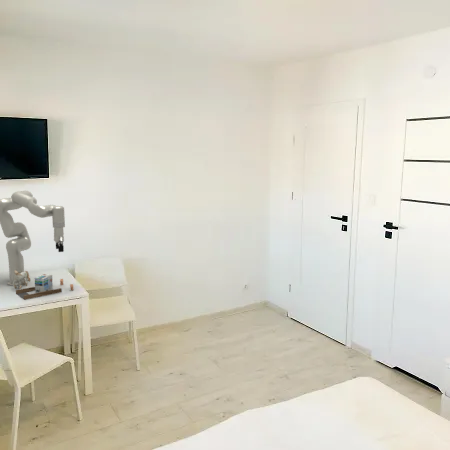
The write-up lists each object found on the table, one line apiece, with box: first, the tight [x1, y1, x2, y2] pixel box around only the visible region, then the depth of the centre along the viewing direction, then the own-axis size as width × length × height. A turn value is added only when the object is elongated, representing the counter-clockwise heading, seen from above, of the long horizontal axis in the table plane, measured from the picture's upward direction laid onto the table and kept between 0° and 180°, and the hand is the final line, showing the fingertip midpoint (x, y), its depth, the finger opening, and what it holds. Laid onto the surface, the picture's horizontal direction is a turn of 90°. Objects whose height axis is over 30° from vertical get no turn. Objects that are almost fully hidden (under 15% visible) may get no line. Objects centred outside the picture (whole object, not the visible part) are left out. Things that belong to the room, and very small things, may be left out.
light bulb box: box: [33, 273, 54, 293], centre depth 302 cm, size 11×7×11 cm, turn 168°
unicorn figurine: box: [13, 270, 31, 290], centre depth 311 cm, size 7×20×13 cm, turn 4°
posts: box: [59, 278, 74, 292], centre depth 313 cm, size 18×2×4 cm, turn 43°
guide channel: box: [15, 286, 62, 300], centre depth 301 cm, size 15×24×2 cm, turn 133°
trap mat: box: [16, 292, 30, 300], centre depth 295 cm, size 12×6×1 cm, turn 43°
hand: (59, 250), depth 304 cm, fingers open, 9 cm apart
